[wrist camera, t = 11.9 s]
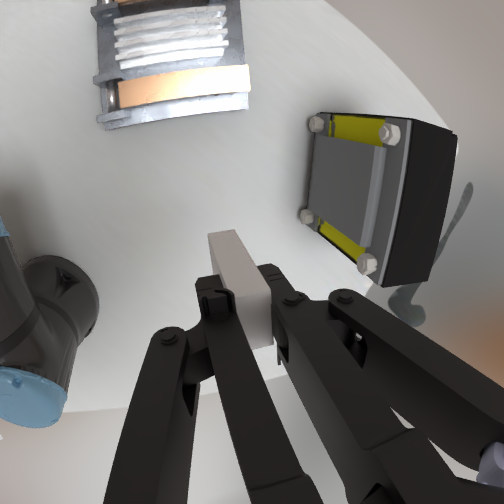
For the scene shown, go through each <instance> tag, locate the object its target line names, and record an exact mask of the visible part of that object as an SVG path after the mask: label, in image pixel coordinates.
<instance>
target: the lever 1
mask: <svg viewBox="0 0 504 504" xmlns="http://www.w3.org/2000/svg"><path fill="white" fill-rule="evenodd" d="M115 1H118V3H119V5H120V6H123V5H127V4H132V3H137V2H142V1H147V0H115Z"/></svg>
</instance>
